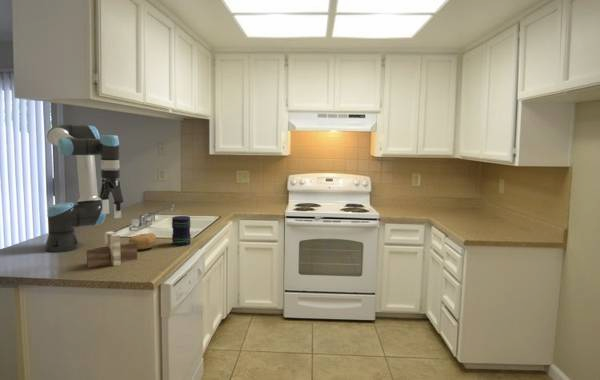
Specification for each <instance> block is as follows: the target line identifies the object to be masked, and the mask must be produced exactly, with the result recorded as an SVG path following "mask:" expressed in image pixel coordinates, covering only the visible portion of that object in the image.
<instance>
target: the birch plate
mask: <svg viewBox="0 0 600 380" xmlns="http://www.w3.org/2000/svg"><path fill="white" fill-rule="evenodd" d="M120 244H121V234H118V233H116V232H115V231H113V230H109V231H104V247H108V249H109V255H111V264H110V265H112V266H114V267H116V266H121V264H122V262H121V255H120Z"/></svg>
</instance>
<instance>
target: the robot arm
mask: <svg viewBox="0 0 600 380" xmlns="http://www.w3.org/2000/svg"><path fill="white" fill-rule="evenodd" d="M46 134H47V135H46V138H47V140H48V142H49V144H50V145H52V146H54V147H57V152H58V154H59V155H60V156H76V165H77V177H78V188H79V189H78V190H79V199H78V200H77V201H76V203H77V204H75V203H74V202H72V201H71V202H68V201H67V202H59V203H56V204H52V205H50V206H49V207H48V208H47V225H48V226H47V227H48V236H47V239H46V242H45V245H44V249H45V251H46V252H48V253H49V252H51V253H60V252H69V251H73V250H76V249H79V247H80V243H79V240H78V238H77V235H76V232H75V228H81V227H90V226H97V225H101V224H103V223H104V221H105V219H106V214H110V201H109V200H110V193H111V195H112V197H113V214H114V216H113V217H114V219H120V218H122V203H124V198H123V195H122V194H123V193H122V189H121V181H119V180H117V179H119V178H120V175H121V174H120V170H119V169H120V168H121V167H120V140H119V136H118V135H115V134H113V135H111V134H108V135H107V134H101V135H100V133H99V130H98V128H96V126H94V125H86V124H58V125H55V126H53V127H51V128H50V129H49V130H48V131H47V133H46ZM96 156H100V162H99V164H100V168H101V171H100V173H101V174H100V175H101V176H100V177H101V178H102V179H101V187H100V193H99V194H98V181H97V172H96V170H97V168H96V158H95V157H96Z"/></svg>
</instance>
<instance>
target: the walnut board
mask: <svg viewBox="0 0 600 380" xmlns="http://www.w3.org/2000/svg"><path fill="white" fill-rule="evenodd" d="M85 252H86V268H87V269H93V268H97V267H102V266H107V265H108V266H109V265H111V255H109V249H108V247H105V246H102V247H96V248H95V247H94V248H91V249H90V248H89V249H86V251H85ZM120 255H121V263H124V262H128V261H134V260H138V250H137V243H136V242H132V243H129V242H125V243H122V244H121V243H120Z"/></svg>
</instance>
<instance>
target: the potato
mask: <svg viewBox="0 0 600 380" xmlns="http://www.w3.org/2000/svg"><path fill="white" fill-rule="evenodd" d="M132 242H136V243H137V251H138V250H139V251H144V250H148V249H150V248H152V247H154V246H155V245H156V243H157V236H156V234H154V233H150V232H149V233H140V234H136V235H133V236H131V237H130V238H129V240H128V243H132Z"/></svg>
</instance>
